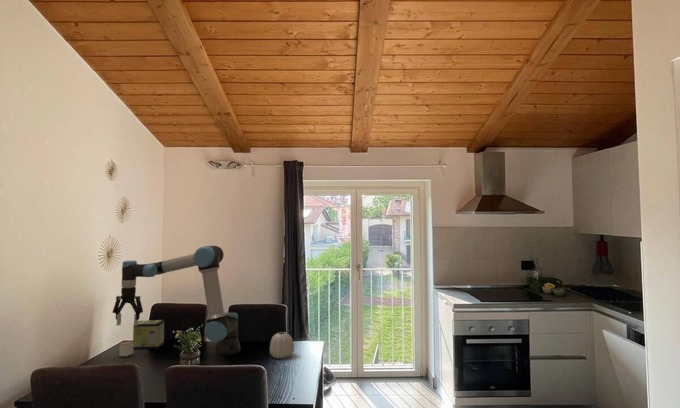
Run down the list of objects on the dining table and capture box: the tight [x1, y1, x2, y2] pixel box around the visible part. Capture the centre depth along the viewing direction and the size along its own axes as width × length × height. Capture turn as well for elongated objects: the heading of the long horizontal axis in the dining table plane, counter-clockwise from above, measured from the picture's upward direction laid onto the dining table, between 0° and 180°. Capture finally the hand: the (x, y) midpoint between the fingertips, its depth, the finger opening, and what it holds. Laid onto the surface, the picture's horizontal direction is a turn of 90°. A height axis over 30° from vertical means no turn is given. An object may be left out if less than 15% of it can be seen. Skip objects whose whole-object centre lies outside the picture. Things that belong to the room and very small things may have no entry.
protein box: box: [132, 319, 165, 350], centre depth 245 cm, size 10×16×16 cm
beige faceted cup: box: [118, 341, 134, 357], centre depth 226 cm, size 5×5×7 cm
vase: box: [269, 331, 295, 359], centre depth 224 cm, size 14×14×13 cm
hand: (127, 325), depth 227 cm, fingers open, 10 cm apart
